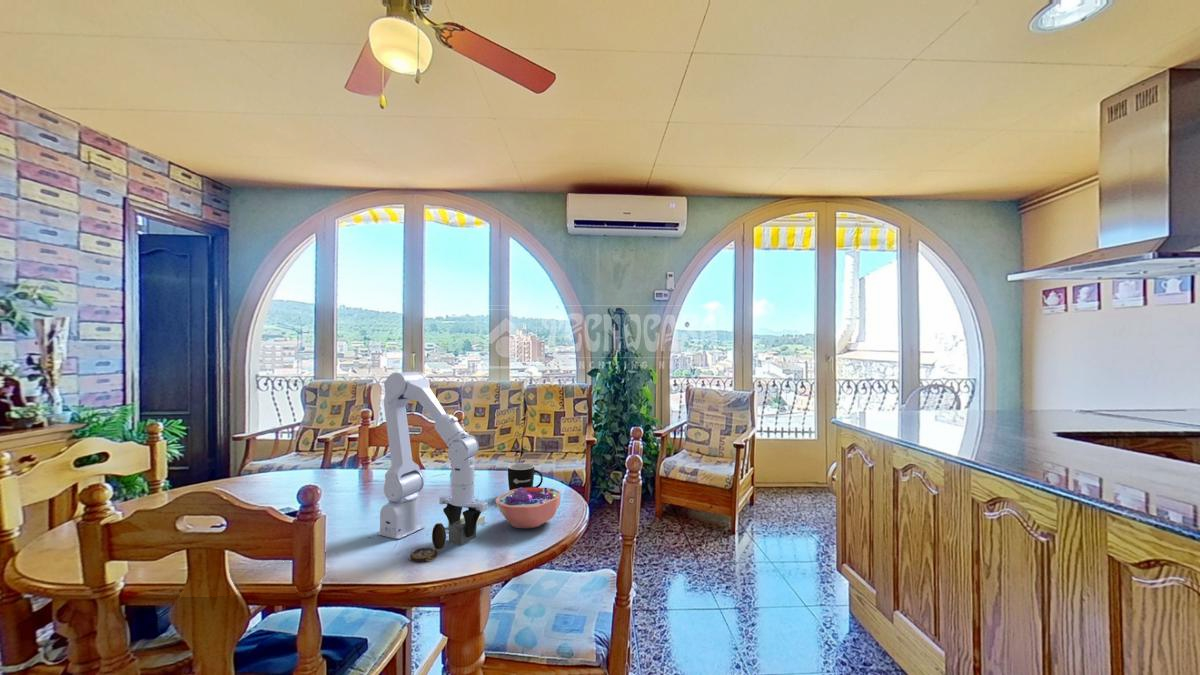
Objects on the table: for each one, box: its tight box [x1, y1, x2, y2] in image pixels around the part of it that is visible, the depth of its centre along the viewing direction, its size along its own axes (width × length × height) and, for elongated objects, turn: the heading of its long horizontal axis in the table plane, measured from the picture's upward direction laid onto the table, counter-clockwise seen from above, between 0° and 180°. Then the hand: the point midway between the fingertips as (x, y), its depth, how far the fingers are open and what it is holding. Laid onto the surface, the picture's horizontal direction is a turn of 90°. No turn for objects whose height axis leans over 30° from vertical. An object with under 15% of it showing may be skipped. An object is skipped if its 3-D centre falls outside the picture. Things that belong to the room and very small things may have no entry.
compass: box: [409, 522, 447, 563], centre depth 118 cm, size 8×8×7 cm
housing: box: [448, 518, 477, 546], centre depth 129 cm, size 6×4×5 cm
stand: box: [447, 513, 486, 529], centre depth 140 cm, size 8×6×2 cm
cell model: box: [495, 487, 562, 529], centre depth 140 cm, size 17×20×11 cm
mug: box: [507, 462, 544, 492], centre depth 167 cm, size 12×9×10 cm
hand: (462, 534), depth 129 cm, fingers closed on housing, 4 cm apart
